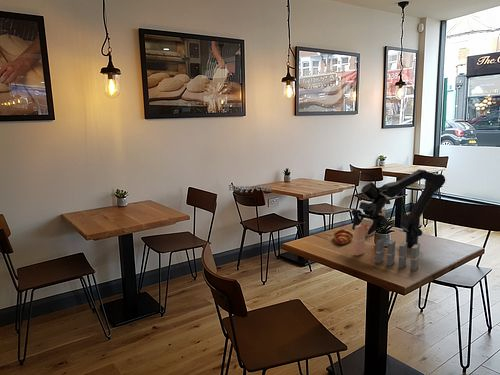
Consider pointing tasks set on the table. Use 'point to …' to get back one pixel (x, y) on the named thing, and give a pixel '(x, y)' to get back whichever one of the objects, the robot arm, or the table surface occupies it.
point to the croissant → (342, 236)
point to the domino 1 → (359, 240)
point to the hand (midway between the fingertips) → (360, 231)
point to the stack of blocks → (370, 222)
